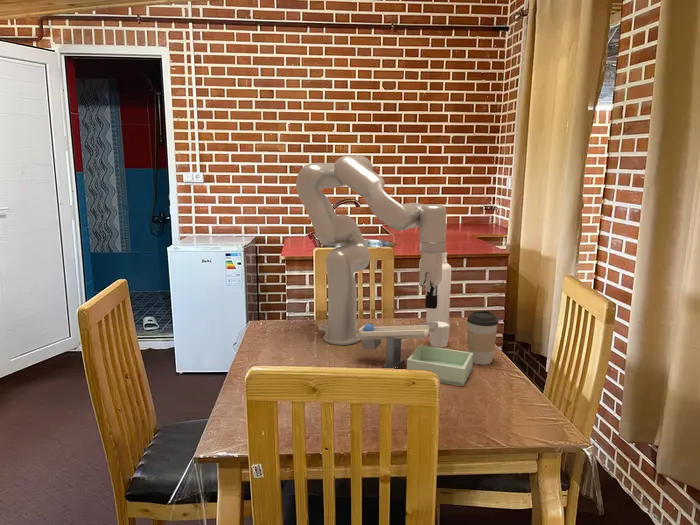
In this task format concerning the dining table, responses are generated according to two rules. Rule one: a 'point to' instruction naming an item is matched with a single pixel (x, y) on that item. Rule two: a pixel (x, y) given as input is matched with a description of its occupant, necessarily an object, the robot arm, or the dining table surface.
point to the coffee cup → (482, 336)
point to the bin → (443, 363)
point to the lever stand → (393, 353)
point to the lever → (394, 333)
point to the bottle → (442, 295)
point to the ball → (368, 327)
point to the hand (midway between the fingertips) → (431, 307)
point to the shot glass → (440, 334)
